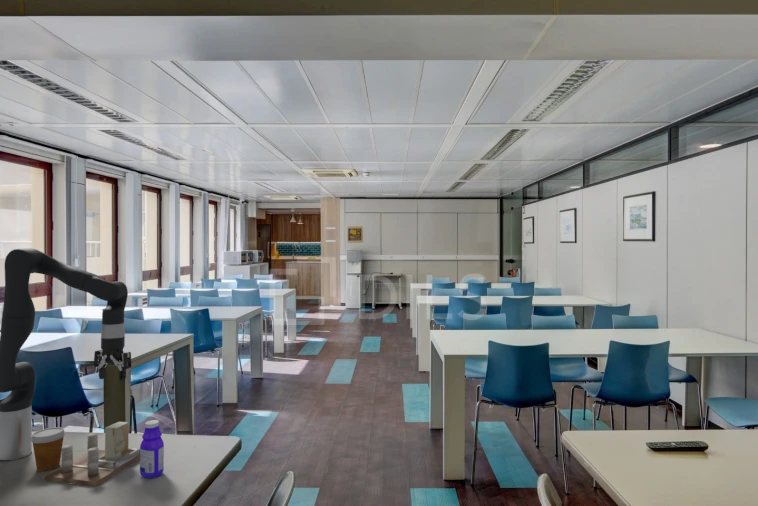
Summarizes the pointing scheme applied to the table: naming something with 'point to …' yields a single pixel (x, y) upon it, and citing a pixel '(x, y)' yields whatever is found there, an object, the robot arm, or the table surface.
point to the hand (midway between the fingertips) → (112, 379)
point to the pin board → (83, 472)
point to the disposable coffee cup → (48, 447)
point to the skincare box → (116, 441)
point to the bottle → (151, 451)
